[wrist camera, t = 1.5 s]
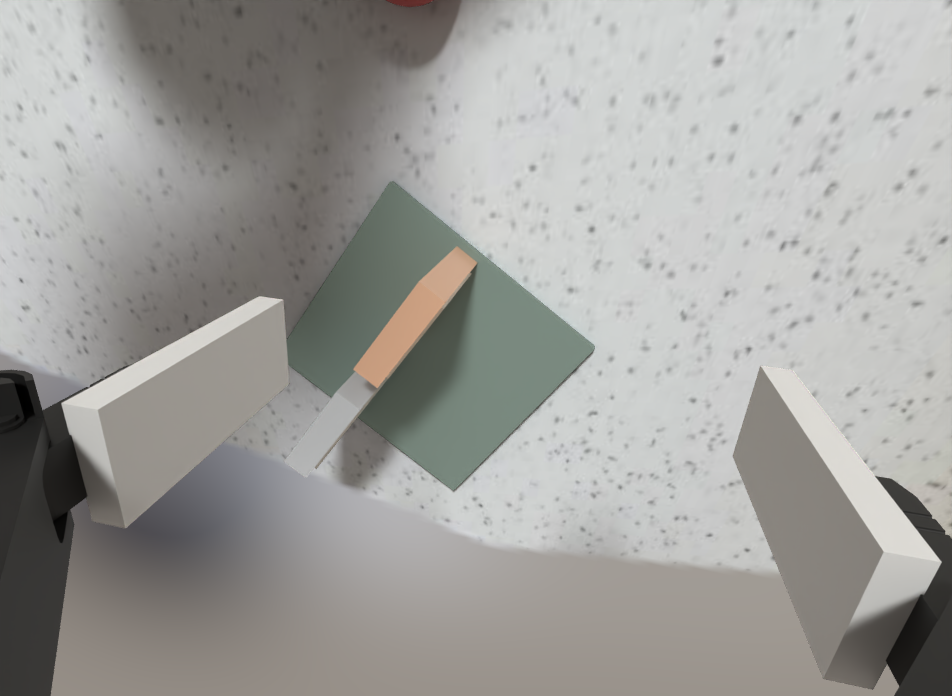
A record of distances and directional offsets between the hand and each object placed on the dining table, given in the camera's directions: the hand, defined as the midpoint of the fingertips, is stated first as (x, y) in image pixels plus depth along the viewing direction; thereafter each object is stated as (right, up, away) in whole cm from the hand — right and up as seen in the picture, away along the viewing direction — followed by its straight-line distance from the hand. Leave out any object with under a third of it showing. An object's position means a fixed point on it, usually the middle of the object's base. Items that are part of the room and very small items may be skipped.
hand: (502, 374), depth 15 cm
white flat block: (-9, -1, +28) cm, 29 cm away
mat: (-4, +1, +26) cm, 27 cm away
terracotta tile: (-3, +5, +24) cm, 25 cm away
